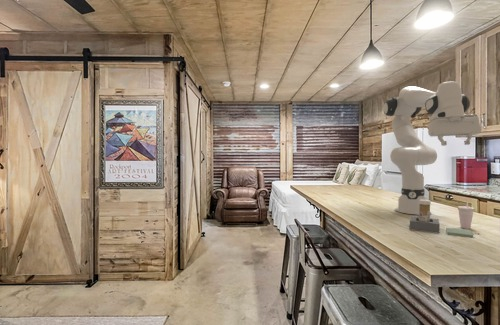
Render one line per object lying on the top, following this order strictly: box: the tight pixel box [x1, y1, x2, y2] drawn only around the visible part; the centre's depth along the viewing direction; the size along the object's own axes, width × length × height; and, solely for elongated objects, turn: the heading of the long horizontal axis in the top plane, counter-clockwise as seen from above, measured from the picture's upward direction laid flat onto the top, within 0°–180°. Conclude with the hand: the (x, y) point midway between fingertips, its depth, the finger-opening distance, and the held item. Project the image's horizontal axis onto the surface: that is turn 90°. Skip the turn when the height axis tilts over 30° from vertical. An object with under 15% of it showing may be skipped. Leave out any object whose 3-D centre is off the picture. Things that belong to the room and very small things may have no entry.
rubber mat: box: [445, 227, 474, 238], centre depth 126 cm, size 9×9×1 cm
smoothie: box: [457, 197, 475, 230], centre depth 135 cm, size 6×6×14 cm
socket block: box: [409, 215, 441, 234], centre depth 134 cm, size 11×11×4 cm
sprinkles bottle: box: [418, 199, 432, 222], centre depth 134 cm, size 5×5×13 cm
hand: (455, 144), depth 128 cm, fingers open, 8 cm apart
